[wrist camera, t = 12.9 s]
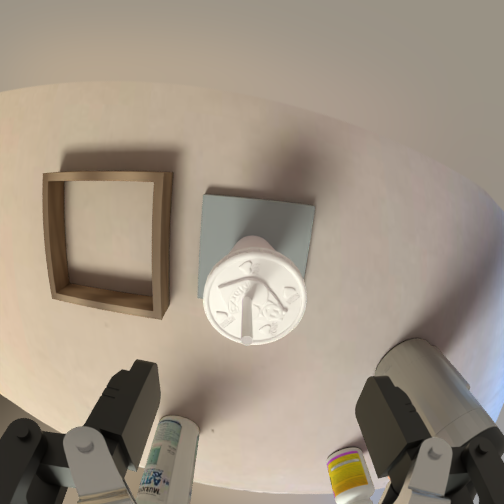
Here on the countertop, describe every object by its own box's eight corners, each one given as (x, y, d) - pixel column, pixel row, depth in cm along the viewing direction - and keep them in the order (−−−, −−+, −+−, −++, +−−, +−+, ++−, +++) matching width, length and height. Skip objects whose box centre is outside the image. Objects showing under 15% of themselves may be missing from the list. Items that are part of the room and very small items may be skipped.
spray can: (181, 443, 36) (162, 549, 16) (149, 422, 34) (116, 532, 15) (210, 431, 35) (197, 550, 15) (176, 409, 33) (147, 535, 14)
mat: (312, 205, 26) (315, 206, 25) (297, 302, 28) (298, 307, 28) (205, 193, 25) (203, 194, 24) (199, 293, 28) (197, 298, 27)
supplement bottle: (318, 459, 38) (330, 517, 25) (350, 442, 36) (369, 501, 24) (337, 467, 39) (350, 519, 27) (367, 451, 38) (385, 504, 26)
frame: (173, 172, 25) (163, 172, 22) (169, 305, 28) (161, 319, 26) (59, 171, 24) (42, 173, 21) (65, 288, 28) (52, 298, 25)
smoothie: (235, 208, 25) (222, 256, 11) (299, 239, 26) (351, 314, 12) (206, 270, 26) (171, 366, 13) (267, 297, 27) (283, 404, 14)
